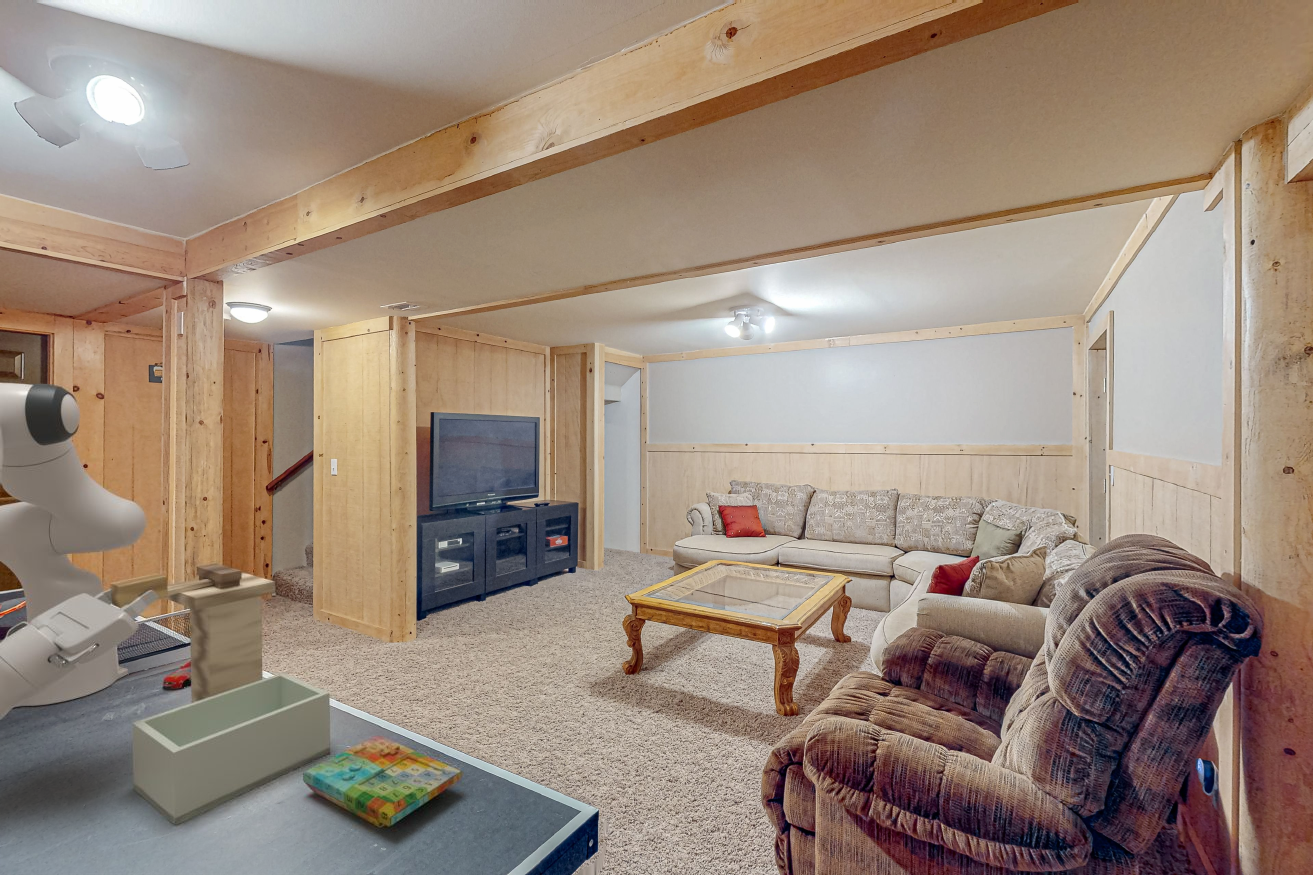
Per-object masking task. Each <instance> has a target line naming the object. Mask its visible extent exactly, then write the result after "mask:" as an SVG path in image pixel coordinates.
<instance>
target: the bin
mask: <svg viewBox="0 0 1313 875" xmlns="http://www.w3.org/2000/svg"><path fill="white" fill-rule="evenodd" d="M330 699H331V698H330V692H329V691H326V690H324V689H322V688H320V687H317V686H315V685H313V684H310V683H309V682H306V681H304V680H301V679H299V678H297V677H294V676H292V675H290V674H287V673H285V672H281V673H278V674H275V675H272V676H269V677H266V678H263V680H260V681H257V682H254V683H251V684H248V685H245V686H242V687H239V688H236V689H233V690H230V691H227V692H224V693H221V694H218V695H215V696H212V697H209V698H206V699H203V700H200V701H197V702H194V703H192V702H191V703H188V704H184V705H182V706H179V707H175V708H173V709H170V710H167V711H164V712H160V713H158V714H155V715H152V716H150V717H146V718H143V719H140V720H137V721H134V722H132V758H133V759H132V761H133V763H132V764H133V790H134V791H135V792H136V793H137V794H139V796H141V797H142V798H143V799H145V800H146V801H147V803H149V804H150V805H151V806H152V807H154V808H155V810H157V811H158V812H159V814H161V815H163V816H164V817H165V818H166V819H167V820H168V821H169V822H170V823H171V824H173V826H177V825H179V824H182V823H183V822H185V821H187V820H190V819H192V818H194V817H197V816H198V815H201V814H203V813H205V812H207V811H209V810H211V809H214V808H215V807H218V806H220V805H222V804H223V803H226V802H228V801H230V800H233V799H235V798H238V797H239V796H241V795H243V794H246V793H247V791H248V792H249V790H250V791H251V789H252V790H253V789H255V788H258V787H260V786H262V785H264V784H266V783H268V782H272V780H274V779H277V778H280V777H282V776H284V775H286V774H288V773H290V772H293V771H295V770H297V769H298V768H301V767H302V766H305V765H307V764H309V763H311V762H313V761H316V760H318V759H320V758H322V757H324V756H326V755H328V754H330V753H331V714H330V713H331V712H330V711H331V709H330V705H331V704H330ZM240 794H241V795H240Z"/></svg>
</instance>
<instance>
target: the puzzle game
mask: <svg viewBox="0 0 1313 875" xmlns="http://www.w3.org/2000/svg"><path fill="white" fill-rule="evenodd" d="M462 778H463V771H462V770H459V769H457V768H455V767H453V766H451V765H448V764H446V763H443V762H441V761H439V760H436V759H434V758H432V757H430V756H428V755H425V754H423V753H421V752H418V751H417V750H413V749H412V748H409V747H407V746H404V745H402V744H400V743H398V742H395V741H393V740H391V739H389V738H386V737H383V736H381V735H378V734H377V735H375V736H372V737H371V738H369V739H367V740H365V741H363V742H361V743H359V744H356V745H355V746H353V747H351V748H349V749H347V750H345V751H343V752H341V753H339V754H337V755H335V756H333V757H331V758H329V759H327V760H325V761H322V762H321V763H319V764H317V765H315V766H313V767H311V768H309V769H307V770H306V771H303V772H302V780H303V782H304V784H306V786H307V787H308V788H309V789H310V790H311V791H313V792H314V793H315V794H317V795H318V796H320V797H322V798H325V799H326V800H328V801H329V802H331V803H334V804H335V805H337V806H339V807H341V808H342V809H345V810H346V811H348V812H349V813H352V814H354V815H355V816H357V817H360V818H361V819H363V820H365V821H367V822H369V823H371V824H372V825H374V826H376V827H378V828H381V829H382V828H383V827H385V826H386V827H392V826H393V825H394V824H396V823H397V822H399V821H400V820H401V819H403V818H404V817H406V816H408V815H409V814H411V813H412V812H414V811H415V810H417V809H419V808H420V807H421V806H423V805H424V804H426V803H427V802H429V801H430V800H432V799H434V797H436V796H438V795H439V794H441V793H443V792H444V791H445V790H447V789H448V788H450V787H451V786H453V785H454V784H456V783H457V782H459V781H461V780H462Z"/></svg>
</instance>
